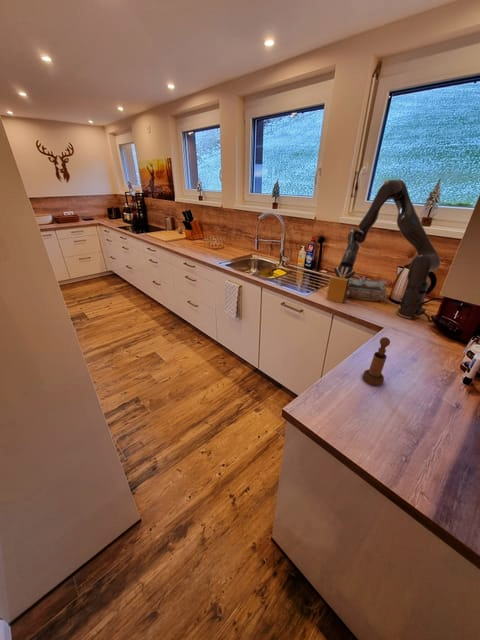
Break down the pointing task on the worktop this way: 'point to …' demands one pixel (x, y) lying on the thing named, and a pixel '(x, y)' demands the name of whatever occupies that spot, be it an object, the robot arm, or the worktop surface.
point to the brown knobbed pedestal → (377, 365)
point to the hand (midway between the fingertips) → (339, 284)
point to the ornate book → (366, 289)
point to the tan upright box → (337, 289)
